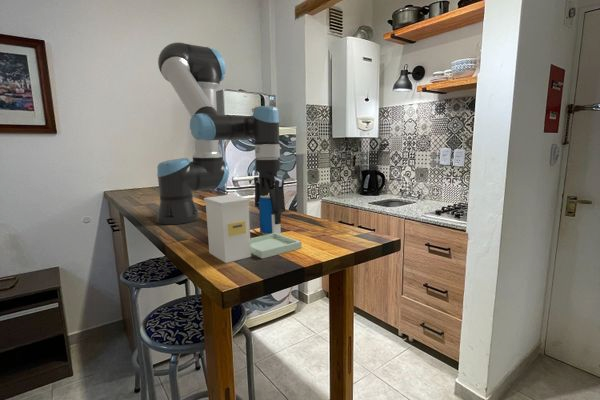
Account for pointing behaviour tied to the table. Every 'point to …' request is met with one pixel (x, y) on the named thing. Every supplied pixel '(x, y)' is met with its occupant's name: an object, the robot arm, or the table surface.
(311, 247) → the table surface
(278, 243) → the tray
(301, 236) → the table surface
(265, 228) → the beverage can
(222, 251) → the block
